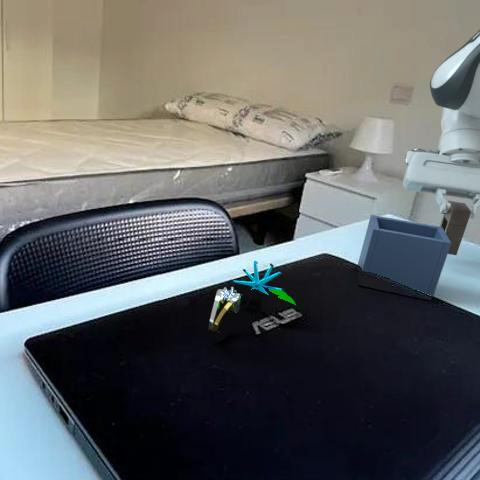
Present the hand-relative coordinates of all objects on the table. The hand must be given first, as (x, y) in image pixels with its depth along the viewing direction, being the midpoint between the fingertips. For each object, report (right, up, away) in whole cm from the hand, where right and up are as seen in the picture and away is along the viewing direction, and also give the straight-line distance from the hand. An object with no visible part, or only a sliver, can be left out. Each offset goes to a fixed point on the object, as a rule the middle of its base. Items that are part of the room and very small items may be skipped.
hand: (457, 214), depth 95 cm
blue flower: (-40, -16, -16) cm, 45 cm away
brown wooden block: (0, -7, +3) cm, 7 cm away
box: (-15, -13, -5) cm, 20 cm away
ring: (-48, -19, -25) cm, 58 cm away
